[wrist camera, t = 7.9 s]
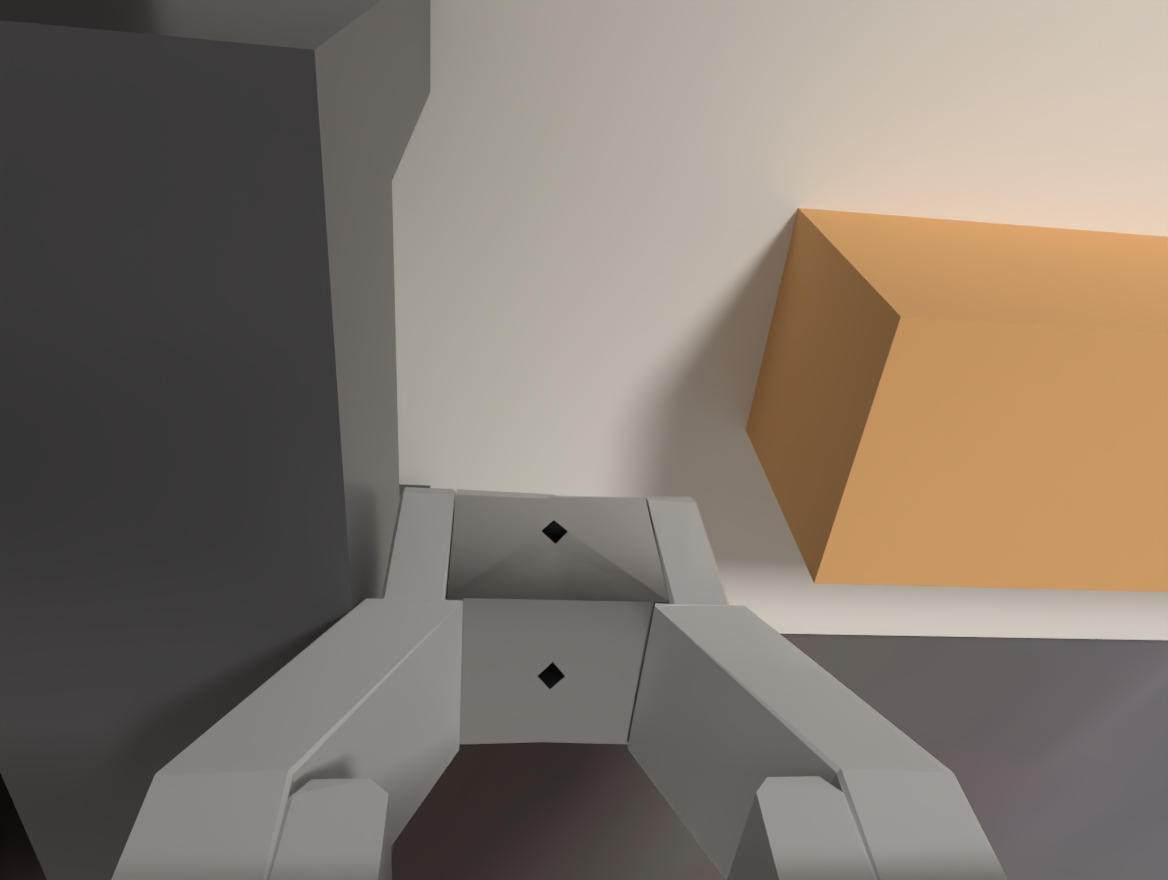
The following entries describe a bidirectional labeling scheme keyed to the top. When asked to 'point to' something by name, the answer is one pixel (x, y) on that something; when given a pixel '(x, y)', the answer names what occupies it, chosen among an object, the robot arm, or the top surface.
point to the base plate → (732, 240)
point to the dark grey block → (186, 373)
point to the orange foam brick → (969, 403)
